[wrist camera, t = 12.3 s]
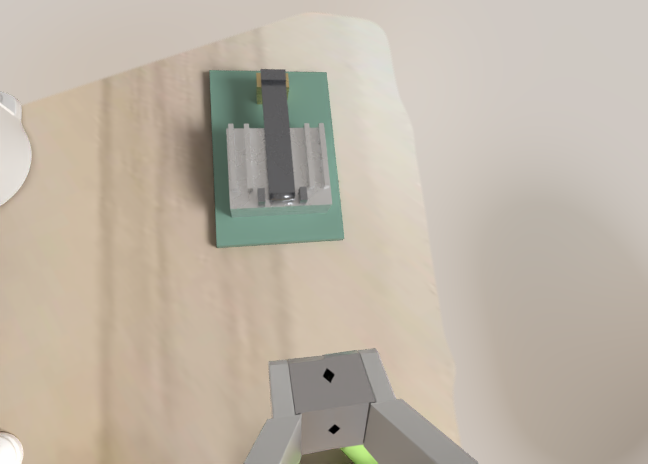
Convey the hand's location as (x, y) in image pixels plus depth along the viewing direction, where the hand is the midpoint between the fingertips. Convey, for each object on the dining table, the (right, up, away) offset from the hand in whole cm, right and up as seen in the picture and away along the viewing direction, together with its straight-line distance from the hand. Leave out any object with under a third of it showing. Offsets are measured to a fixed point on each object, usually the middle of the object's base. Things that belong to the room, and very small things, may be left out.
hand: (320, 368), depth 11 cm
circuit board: (-7, +14, +42) cm, 44 cm away
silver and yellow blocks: (-6, +15, +40) cm, 43 cm away
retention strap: (-6, +15, +37) cm, 40 cm away
